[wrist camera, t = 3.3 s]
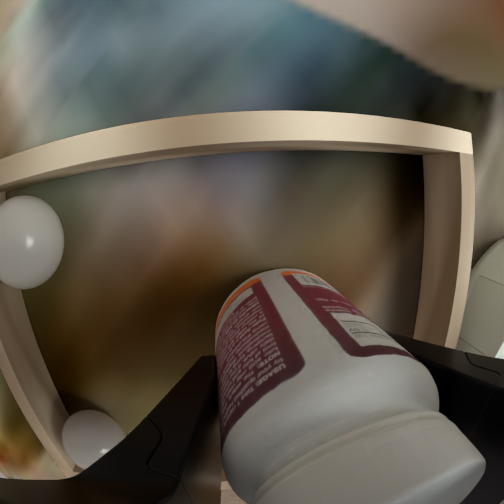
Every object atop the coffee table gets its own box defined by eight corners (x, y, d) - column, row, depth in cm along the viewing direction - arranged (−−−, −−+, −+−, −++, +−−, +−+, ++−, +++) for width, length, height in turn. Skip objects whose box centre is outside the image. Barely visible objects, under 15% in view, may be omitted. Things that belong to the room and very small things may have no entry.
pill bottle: (238, 393, 11) (273, 591, 3) (196, 289, 10) (168, 546, 2) (348, 355, 11) (466, 510, 3) (328, 247, 10) (542, 377, 2)
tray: (434, 137, 10) (470, 132, 8) (405, 414, 13) (424, 437, 11) (-8, 176, 8) (-43, 177, 6) (77, 449, 11) (66, 477, 9)
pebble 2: (121, 397, 10) (103, 447, 8) (140, 442, 11) (131, 489, 8) (64, 394, 10) (40, 436, 7) (87, 438, 11) (71, 479, 8)
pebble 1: (73, 186, 9) (25, 188, 6) (85, 271, 9) (44, 301, 6) (13, 200, 8) (-38, 208, 5) (24, 276, 9) (-21, 303, 6)
